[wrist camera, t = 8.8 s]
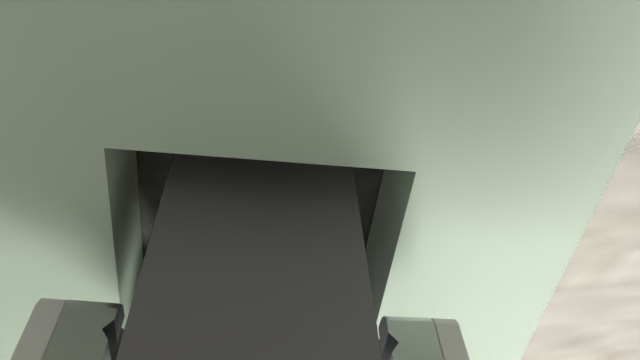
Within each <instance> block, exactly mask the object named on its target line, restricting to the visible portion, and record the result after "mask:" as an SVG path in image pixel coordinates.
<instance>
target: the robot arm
mask: <svg viewBox="0 0 640 360" xmlns="http://www.w3.org/2000/svg"><path fill="white" fill-rule="evenodd" d="M124 317H125V315H124V308H123V304H120V303H107V302H94V301H80V300H63V299H48V298H41V299H40V300H39V301H38V302H37V303H36V304H35V306H34V308H33V310H32V312H31V315H30V317H29V319H28V321H27V323H26V326H25V328H24V330H23V332H22V334H21V337H20V339H19V341H18V343H17V345H16V348H15V350H14V352H13V354H12V356H11V359H10V360H116V357H117V353H118V350H119V346H120V343H121V339H122V336H123V332H124V329H123V328H122V324H123V320H124ZM378 330H379V337H380V339H379V343H380V349H381V356H382V360H470V358H469V355H468V352H467V349H466V345H465V342H464V339H463V335H462V332H461V329H460V325H459V323H458V322H457V321H456V319H438V318H431V319H430V318H422V317H396V316H383V317H382V319H381V321H380V324H379V328H378Z"/></svg>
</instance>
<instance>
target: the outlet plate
mask: <svg viewBox="0 0 640 360" xmlns="http://www.w3.org/2000/svg"><path fill="white" fill-rule="evenodd" d="M639 120H640V0H0V360H10V359H11V356H12V354H13V352H14V350H15V348H16V345H17V343H18V341H19V339H20V337H21V334H22V332H23V330H24V328H25V326H26V323H27V321H28V319H29V317H30V315H31V312H32V310H33V308H34V306H35V304H36V303H37V302H38V301H39V300H40V299H41V298H48V299H63V300H80V301H94V302H107V303H120V304H123V308H124V315H125V317H124V320H123V324H122V328H123V329H125V325H126V321H127V318H128V314H129V311H130V307H131V304H132V300H133V296H134V293H135V289H136V286H137V282H138V279H139V275H140V271H141V268H142V264H143V248H142V233H141V218H140V203H139V188H138V173H137V158H136V151H149V152H162V153H175V154H188V155H201V156H215V157H228V158H241V159H254V160H267V161H280V162H293V163H307V164H320V165H333V166H346V167H359V168H372V169H384V171H383V176H382V180H381V185H380V189H379V194H378V198H377V202H376V207H375V211H374V216H373V220H372V225H371V229H370V234H369V238H368V242H367V247H366V257H367V263H368V270H369V277H370V283H371V290H372V297H373V303H374V310H375V316H376V323H377V330H378V328H379V324H380V321H381V319H382V317H383V316H396V317H422V318H430V319H431V318H438V319H456V321H457V322H458V323H459V325H460V329H461V332H462V335H463V339H464V342H465V345H466V349H467V352H468V355H469V358H470V360H520V359H521V357H522V355H523V352H524V350H525V348H526V346H527V344H528V342H529V340H530V338H531V336H532V334H533V332H534V330H535V328H536V326H537V324H538V322H539V320H540V318H541V316H542V314H543V312H544V310H545V308H546V306H547V304H548V302H549V300H550V298H551V296H552V294H553V292H554V290H555V288H556V286H557V284H558V282H559V280H560V278H561V276H562V274H563V272H564V270H565V268H566V266H567V264H568V262H569V260H570V258H571V256H572V254H573V252H574V250H575V248H576V246H577V244H578V242H579V240H580V238H581V236H582V234H583V232H584V230H585V228H586V226H587V224H588V222H589V220H590V218H591V216H592V214H593V212H594V210H595V208H596V206H597V204H598V202H599V200H600V198H601V196H602V194H603V192H604V190H605V188H606V186H607V184H608V182H609V180H610V178H611V176H612V174H613V172H614V170H615V168H616V166H617V164H618V162H619V160H620V158H621V156H622V154H623V152H624V150H625V148H626V146H627V144H628V142H629V140H630V138H631V136H632V134H633V132H634V130H635V128H636V126H637V124H638V122H639ZM378 336H379V330H378ZM379 339H380V337H379Z"/></svg>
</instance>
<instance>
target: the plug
mask: <svg viewBox="0 0 640 360" xmlns="http://www.w3.org/2000/svg"><path fill="white" fill-rule="evenodd" d="M116 360H382V356H381V349H380V343H379V336H378V330H377V323H376V316H375V310H374V303H373V297H372V290H371V283H370V277H369V270H368V263H367V257H366V250H365V244H364V237H363V230H362V224H361V217H360V211H359V204H358V197H357V191H356V184H355V178H354V171H353V167H346V166H333V165H320V164H307V163H293V162H280V161H267V160H254V159H241V158H228V157H215V156H201V155H188V154H175V153H174V154H173V157H172V161H171V164H170V168H169V172H168V175H167V179H166V182H165V186H164V189H163V193H162V196H161V200H160V204H159V207H158V211H157V214H156V218H155V221H154V225H153V229H152V232H151V236H150V239H149V243H148V246H147V250H146V254H145V257H144V261H143V264H142V268H141V271H140V275H139V279H138V282H137V286H136V289H135V293H134V296H133V300H132V304H131V307H130V311H129V314H128V318H127V321H126V325H125V329H124V332H123V336H122V339H121V343H120V346H119V350H118V353H117V357H116Z"/></svg>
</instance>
